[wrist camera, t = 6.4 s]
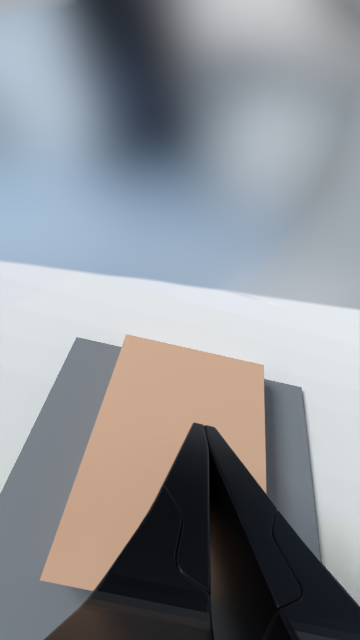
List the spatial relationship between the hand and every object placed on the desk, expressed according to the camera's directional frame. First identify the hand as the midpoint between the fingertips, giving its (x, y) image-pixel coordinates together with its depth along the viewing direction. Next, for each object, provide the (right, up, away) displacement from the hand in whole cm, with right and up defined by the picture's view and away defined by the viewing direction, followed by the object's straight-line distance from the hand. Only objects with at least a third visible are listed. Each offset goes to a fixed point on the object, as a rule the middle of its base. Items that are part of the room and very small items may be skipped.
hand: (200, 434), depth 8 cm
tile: (-2, -8, +2) cm, 9 cm away
